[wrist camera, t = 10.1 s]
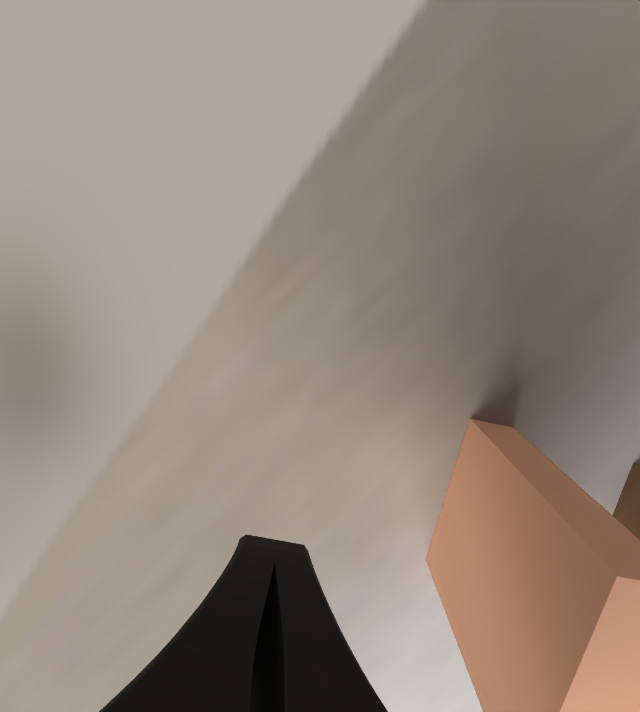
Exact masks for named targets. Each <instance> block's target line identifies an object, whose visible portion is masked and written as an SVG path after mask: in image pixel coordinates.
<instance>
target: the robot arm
mask: <svg viewBox="0 0 640 712" xmlns="http://www.w3.org/2000/svg"><path fill="white" fill-rule="evenodd" d="M99 712H388V711H387V710H386V708H385V707H384V705H383V703H382V702H381V700H380V699H379V697H378V696H377V694H376V693H375V691H374V689H373V688H372V686H371V684H370V683H369V681H368V679H367V678H366V676H365V674H364V673H363V671H362V669H361V667H360V666H359V664H358V662H357V660H356V658H355V657H354V655H353V653H352V651H351V649H350V647H349V646H348V644H347V642H346V640H345V638H344V636H343V634H342V632H341V630H340V628H339V626H338V624H337V621H336V619H335V617H334V615H333V613H332V611H331V609H330V607H329V605H328V602H327V600H326V598H325V595H324V593H323V591H322V588H321V586H320V583H319V581H318V578H317V576H316V573H315V571H314V568H313V565H312V562H311V559H310V556H309V553H308V550H307V549H306V547H305V546H304V545H301V544H296V543H290V542H285V541H279V540H273V539H268V538H262V537H257V536H251V535H245V536H243V537H242V538H240V540H239V543H238V546H237V548H236V550H235V552H234V554H233V556H232V558H231V560H230V562H229V563H228V565H227V566H226V568H225V570H224V571H223V573H222V575H221V576H220V578H219V579H218V580H217V582H216V583H215V585H214V586H213V588H212V589H211V590H210V592H209V593H208V595H207V596H206V597H205V599H204V600H203V602H202V603H201V604H200V606H199V607H198V608H197V609H196V610H195V612H194V613H193V614H192V615H191V617H190V618H189V619H188V620H187V621H186V623H185V624H184V625H183V626H182V628H181V629H180V630H179V631H178V633H177V634H176V635H175V636H174V637H173V638H172V639H171V641H170V642H169V643H168V644H167V645H166V646H165V647H164V648H163V649H162V651H161V652H160V653H159V654H158V655H157V656H156V657H155V658H154V659H153V660H152V661H151V662H150V663H149V664H148V665H147V666H146V667H145V668H144V669H143V670H142V671H141V672H140V673H139V674H138V675H137V676H136V677H135V678H134V679H133V680H132V681H131V682H130V683H129V684H128V685H127V686H126V687H125V688H124V689H123V690H122V691H121V692H120V693H119V694H118V695H116V696H115V697H114V698H113V699H112V700H111V701H110V702H109V703H108V704H107V705H106V706H105V707H104V708H103V709H101V710H100V711H99Z"/></svg>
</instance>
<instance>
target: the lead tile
mask: <svg viewBox="0 0 640 712" xmlns="http://www.w3.org/2000/svg"><path fill="white" fill-rule="evenodd" d="M426 562H427V564H428V567H429V570H430V572H431V575H432V578H433V580H434V583H435V586H436V588H437V591H438V593H439V596H440V599H441V601H442V604H443V607H444V609H445V612H446V615H447V617H448V620H449V622H450V625H451V628H452V630H453V633H454V636H455V638H456V641H457V644H458V646H459V649H460V651H461V654H462V657H463V659H464V662H465V665H466V667H467V670H468V672H469V675H470V678H471V680H472V683H473V686H474V688H475V691H476V694H477V696H478V699H479V701H480V704H481V707H482V709H483V712H640V540H639V539H638V538H637V537H636V536H634V535H633V534H632V533H631V532H630V531H629V530H628V529H627V528H626V527H624V526H623V525H622V524H621V523H620V522H619V521H618V520H617V519H615V518H614V517H613V516H612V515H611V514H610V513H609V512H608V511H606V510H605V509H604V508H603V507H602V506H601V505H600V504H599V503H598V502H596V501H595V500H594V499H593V498H592V497H591V496H590V495H589V494H587V493H586V492H585V491H584V490H583V489H582V488H581V487H580V486H579V485H577V484H576V483H575V482H574V481H573V480H572V479H571V478H570V477H568V476H567V475H566V474H565V473H564V472H563V471H562V470H561V469H559V468H558V467H557V466H556V465H555V464H554V463H553V462H552V461H551V460H549V459H548V458H547V457H546V456H545V455H544V454H543V453H542V452H540V451H539V450H538V449H537V448H536V447H535V446H534V445H533V444H531V443H530V442H529V441H528V440H527V439H526V438H525V437H524V436H523V435H521V434H520V433H519V432H518V431H517V430H516V429H515V428H514V427H509V426H504V425H499V424H494V423H489V422H485V421H480V420H475V419H470V420H469V423H468V426H467V430H466V433H465V436H464V439H463V442H462V446H461V449H460V452H459V455H458V458H457V461H456V465H455V468H454V471H453V474H452V477H451V480H450V484H449V487H448V490H447V493H446V496H445V500H444V503H443V506H442V509H441V512H440V515H439V519H438V522H437V525H436V528H435V531H434V534H433V538H432V541H431V544H430V547H429V550H428V553H427V557H426Z"/></svg>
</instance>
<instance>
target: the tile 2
mask: <svg viewBox="0 0 640 712" xmlns="http://www.w3.org/2000/svg"><path fill="white" fill-rule="evenodd" d="M613 517H614V518H615V519H617V520H618V521H619V522H620V523H621V524H622V525H623V526H624V527H626V528H627V529H628V530H629V531H630V532H631V533H632V534H633V535H634V536H636V537H637V538H638V539H639V540H640V465H639V464H634V463H633V466H632V468H631V471H630V473H629V476H628V478H627V481H626V483H625V486H624V488H623V491H622V493H621V496H620V498H619V501H618V503H617V506H616V508H615V511H614V513H613Z"/></svg>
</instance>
